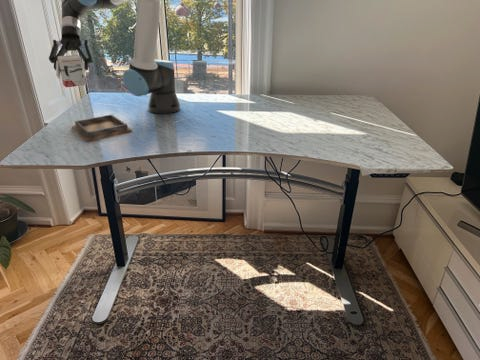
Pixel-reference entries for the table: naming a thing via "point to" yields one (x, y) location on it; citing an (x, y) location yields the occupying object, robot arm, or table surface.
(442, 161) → the table surface
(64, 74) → the ink box
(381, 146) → the table surface
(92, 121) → the tray
